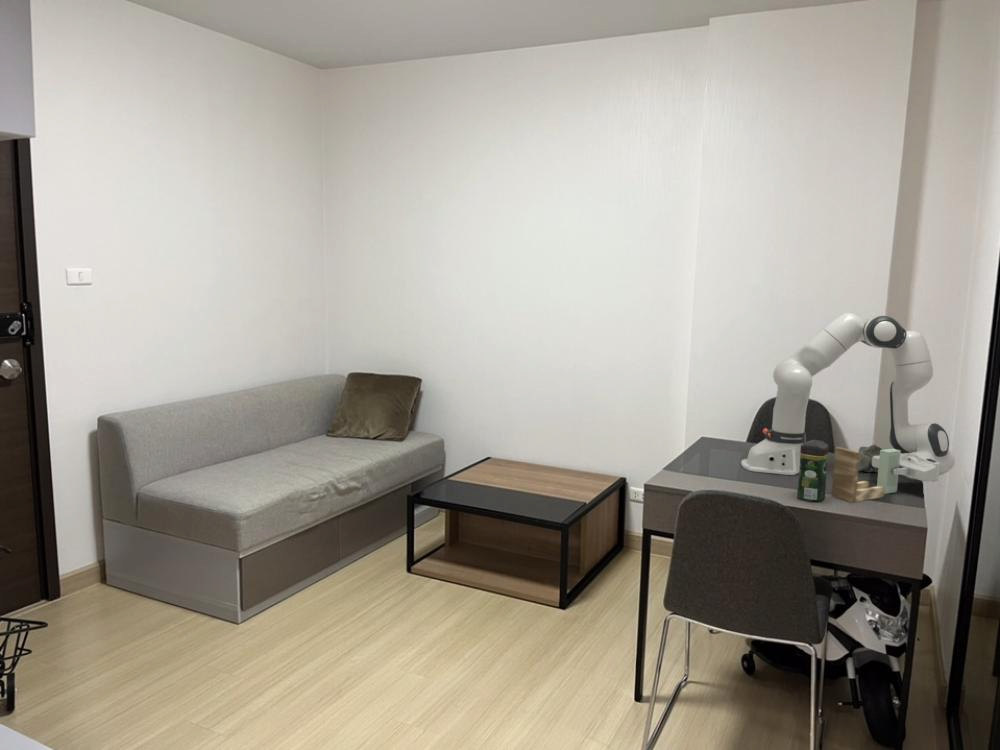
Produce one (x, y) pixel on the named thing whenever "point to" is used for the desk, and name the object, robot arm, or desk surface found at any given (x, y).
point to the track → (851, 478)
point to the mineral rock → (868, 458)
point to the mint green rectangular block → (888, 469)
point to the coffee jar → (812, 470)
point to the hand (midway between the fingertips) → (886, 469)
